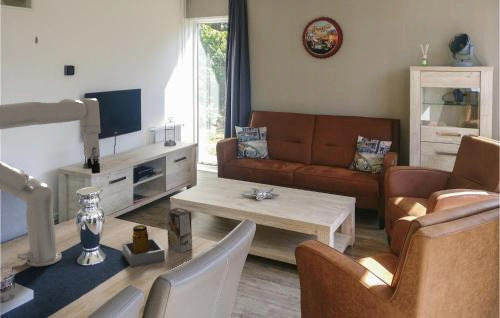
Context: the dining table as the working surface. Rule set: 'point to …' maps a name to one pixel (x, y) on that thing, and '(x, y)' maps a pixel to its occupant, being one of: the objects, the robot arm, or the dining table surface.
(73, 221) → the dining table surface
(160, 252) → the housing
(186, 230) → the coffee box
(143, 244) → the condiment
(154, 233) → the dining table surface
